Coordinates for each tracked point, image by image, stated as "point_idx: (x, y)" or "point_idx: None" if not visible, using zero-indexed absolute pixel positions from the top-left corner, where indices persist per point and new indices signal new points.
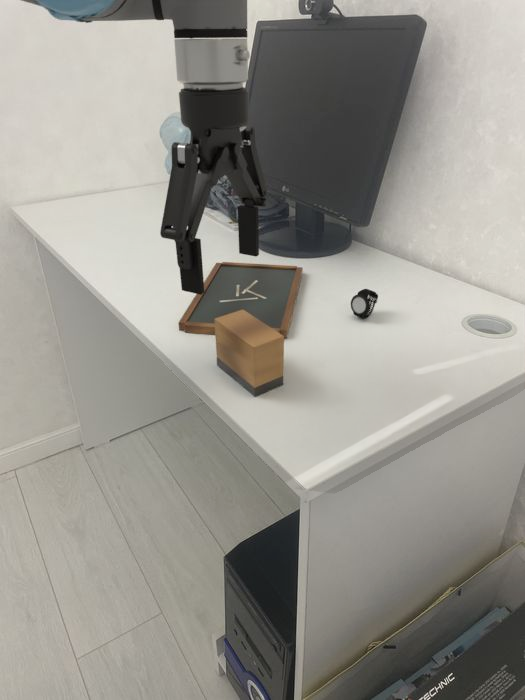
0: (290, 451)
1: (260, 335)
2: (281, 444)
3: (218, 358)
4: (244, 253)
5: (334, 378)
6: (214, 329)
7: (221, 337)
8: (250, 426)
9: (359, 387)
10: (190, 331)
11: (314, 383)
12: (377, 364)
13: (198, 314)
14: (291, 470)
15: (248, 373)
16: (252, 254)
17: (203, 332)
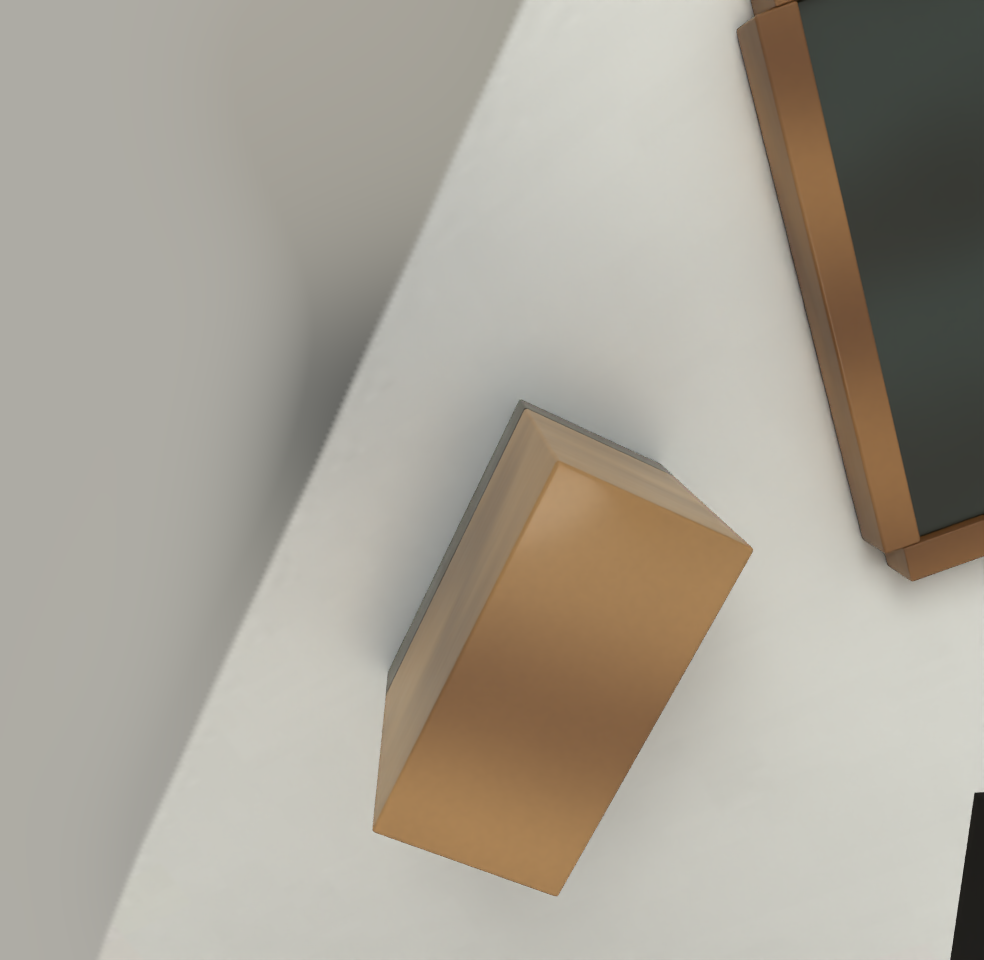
0: (181, 917)
1: (501, 799)
2: (194, 879)
3: (516, 424)
4: (971, 859)
5: (659, 865)
6: (794, 211)
7: (511, 501)
8: (216, 749)
9: (643, 956)
10: (748, 63)
11: None
12: (825, 954)
13: (922, 4)
14: (103, 957)
15: (401, 682)
16: (964, 945)
17: (768, 144)
